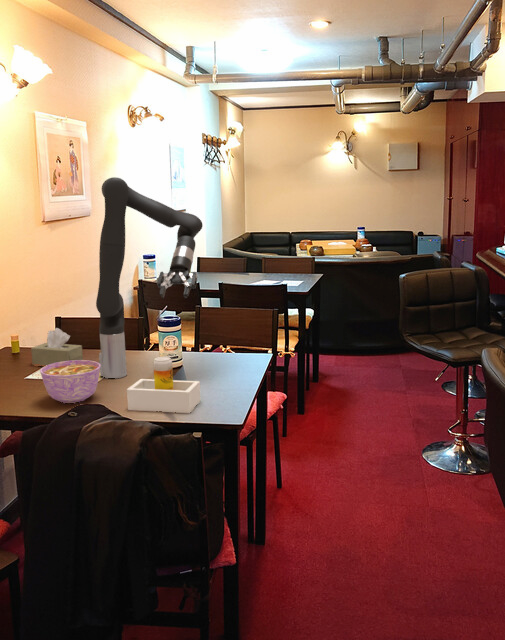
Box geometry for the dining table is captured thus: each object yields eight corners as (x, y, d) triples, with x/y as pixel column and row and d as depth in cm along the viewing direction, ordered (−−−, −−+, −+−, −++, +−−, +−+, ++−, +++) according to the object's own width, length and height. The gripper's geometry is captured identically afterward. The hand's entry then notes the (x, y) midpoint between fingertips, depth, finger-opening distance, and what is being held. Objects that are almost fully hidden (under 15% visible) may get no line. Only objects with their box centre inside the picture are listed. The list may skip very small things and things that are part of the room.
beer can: (170, 405, 208) (168, 361, 205) (152, 405, 209) (150, 360, 206) (176, 400, 214) (174, 356, 211) (159, 399, 215) (157, 356, 212)
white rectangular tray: (128, 410, 208) (126, 389, 207) (141, 398, 219) (140, 378, 218) (189, 413, 204) (188, 392, 202) (200, 401, 215) (199, 381, 214)
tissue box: (84, 364, 267) (81, 327, 264) (69, 370, 258) (66, 332, 255) (47, 360, 273) (44, 324, 270) (31, 366, 265) (28, 329, 261)
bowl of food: (100, 388, 232) (97, 357, 230) (106, 405, 213) (103, 371, 211) (42, 395, 226) (39, 363, 223) (43, 412, 207) (40, 378, 205)
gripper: (161, 254, 236) (151, 290, 227) (198, 254, 233) (190, 290, 224) (166, 267, 242) (157, 302, 233) (202, 267, 239) (195, 303, 230)
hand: (173, 296), depth 229 cm, fingers open, 8 cm apart
